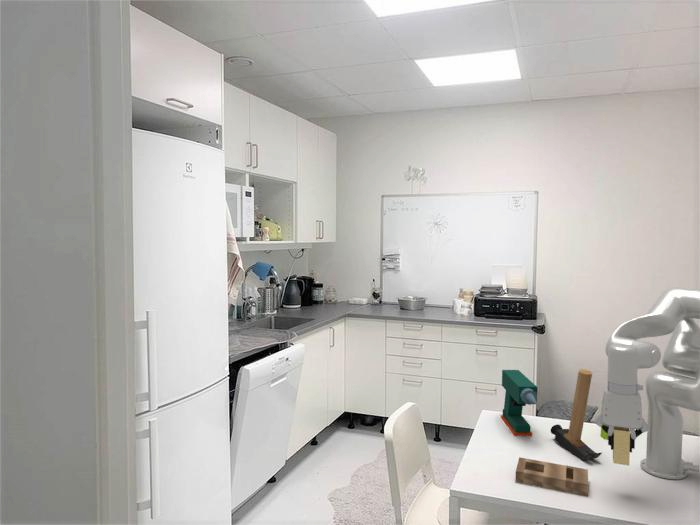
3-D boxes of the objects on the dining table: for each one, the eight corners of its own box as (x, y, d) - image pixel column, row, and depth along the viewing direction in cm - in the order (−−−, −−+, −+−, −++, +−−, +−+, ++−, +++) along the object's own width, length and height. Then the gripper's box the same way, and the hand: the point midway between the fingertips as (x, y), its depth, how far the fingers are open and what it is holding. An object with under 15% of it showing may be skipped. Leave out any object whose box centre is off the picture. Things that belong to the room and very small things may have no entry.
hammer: (599, 468, 167) (614, 386, 160) (586, 470, 166) (600, 387, 158) (561, 433, 186) (573, 358, 179) (549, 435, 185) (561, 359, 177)
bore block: (587, 480, 155) (587, 469, 154) (588, 496, 146) (588, 484, 145) (519, 467, 163) (519, 457, 163) (515, 482, 154) (515, 470, 154)
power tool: (547, 452, 174) (548, 395, 173) (526, 452, 174) (527, 395, 173) (518, 417, 206) (519, 369, 205) (500, 417, 206) (501, 369, 205)
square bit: (628, 459, 148) (628, 426, 147) (629, 465, 144) (629, 431, 143) (612, 457, 149) (613, 424, 148) (613, 463, 146) (614, 429, 145)
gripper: (654, 386, 145) (652, 448, 146) (589, 380, 152) (588, 439, 153) (657, 395, 138) (656, 459, 139) (590, 388, 145) (589, 449, 146)
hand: (621, 448), depth 146 cm, fingers closed on square bit, 4 cm apart
